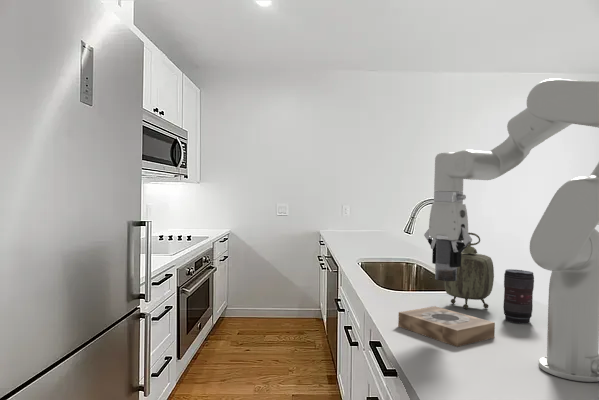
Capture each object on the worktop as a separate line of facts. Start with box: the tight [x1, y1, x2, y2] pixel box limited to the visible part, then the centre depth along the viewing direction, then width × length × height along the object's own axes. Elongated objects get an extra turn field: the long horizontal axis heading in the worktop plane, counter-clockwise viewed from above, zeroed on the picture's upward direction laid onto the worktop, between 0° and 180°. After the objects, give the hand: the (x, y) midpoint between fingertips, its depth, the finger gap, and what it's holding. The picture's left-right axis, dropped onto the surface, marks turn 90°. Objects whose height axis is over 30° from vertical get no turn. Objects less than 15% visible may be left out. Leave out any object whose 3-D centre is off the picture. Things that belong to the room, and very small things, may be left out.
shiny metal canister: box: [434, 235, 458, 282], centre depth 128 cm, size 6×6×12 cm
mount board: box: [397, 305, 496, 348], centre depth 128 cm, size 20×15×4 cm
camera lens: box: [503, 268, 535, 325], centre depth 141 cm, size 8×8×15 cm
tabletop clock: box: [443, 232, 495, 310], centre depth 156 cm, size 14×9×25 cm, turn 57°
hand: (446, 264), depth 128 cm, fingers closed on shiny metal canister, 5 cm apart
